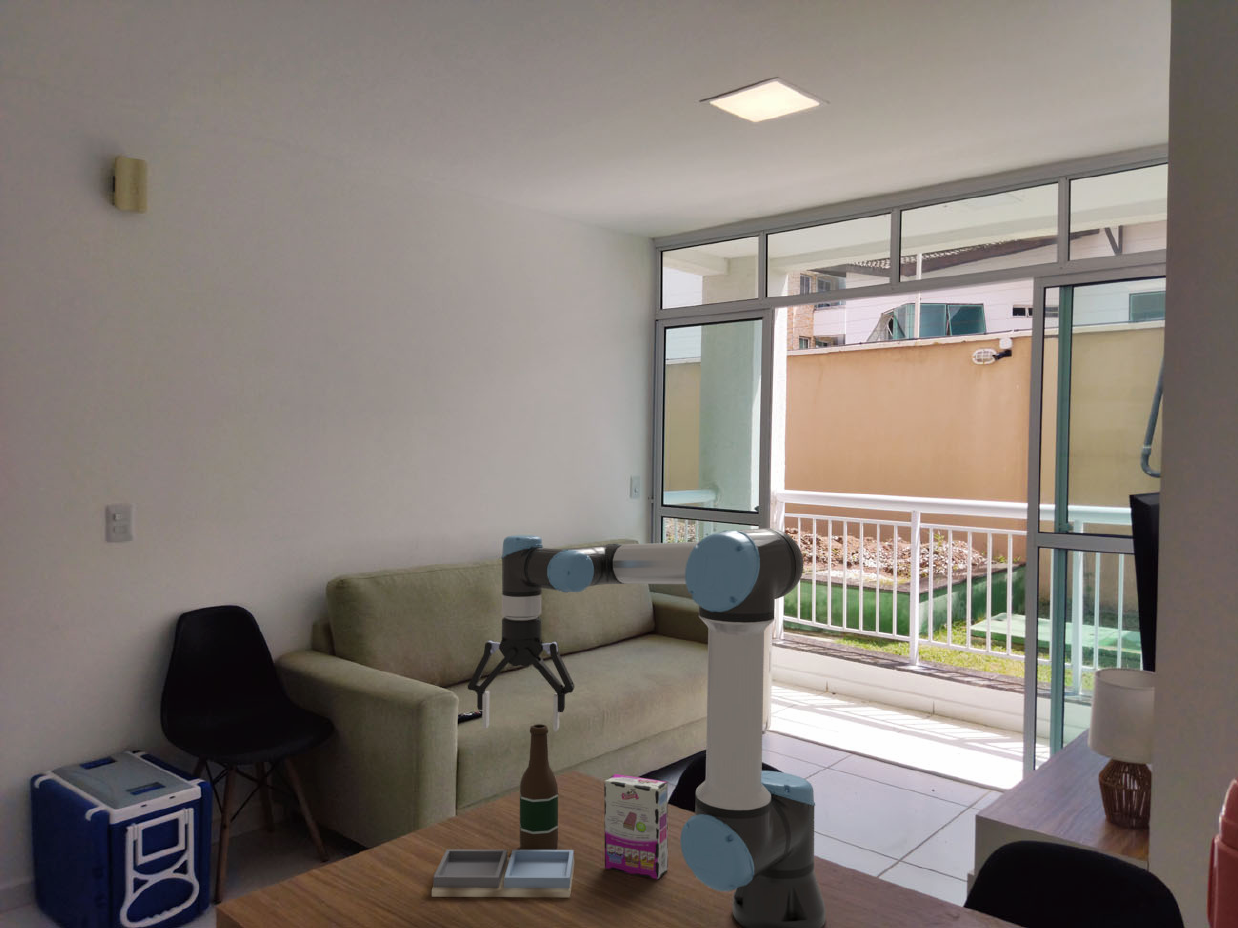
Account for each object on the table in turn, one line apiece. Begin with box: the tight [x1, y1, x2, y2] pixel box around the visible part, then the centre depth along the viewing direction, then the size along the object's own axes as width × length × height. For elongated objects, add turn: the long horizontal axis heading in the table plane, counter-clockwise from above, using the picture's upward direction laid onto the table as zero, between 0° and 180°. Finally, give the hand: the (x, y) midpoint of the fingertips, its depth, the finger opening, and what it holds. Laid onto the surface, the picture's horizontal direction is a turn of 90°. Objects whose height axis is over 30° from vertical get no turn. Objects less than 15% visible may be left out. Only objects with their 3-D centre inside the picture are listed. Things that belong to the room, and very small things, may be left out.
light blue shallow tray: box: [504, 849, 575, 888], centre depth 160 cm, size 11×11×2 cm
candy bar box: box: [603, 773, 669, 880], centre depth 164 cm, size 11×5×16 cm, turn 64°
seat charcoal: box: [432, 848, 508, 888], centre depth 160 cm, size 11×11×2 cm
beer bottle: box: [519, 723, 559, 850], centre depth 173 cm, size 8×8×24 cm
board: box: [431, 856, 575, 898], centre depth 160 cm, size 24×13×1 cm, turn 90°
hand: (520, 727), depth 169 cm, fingers open, 13 cm apart
